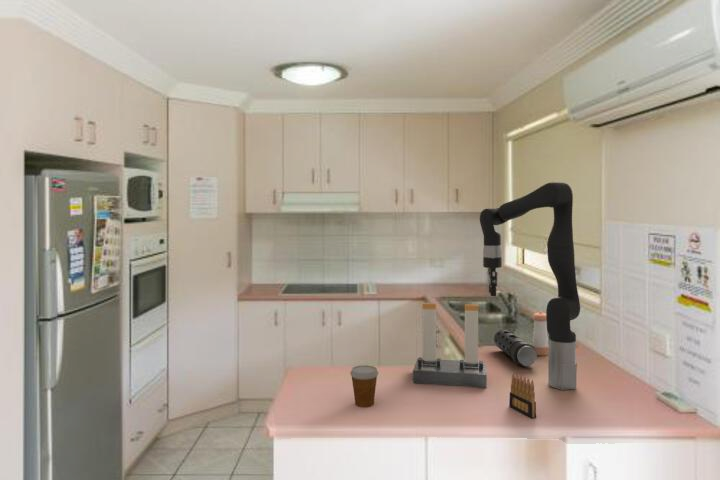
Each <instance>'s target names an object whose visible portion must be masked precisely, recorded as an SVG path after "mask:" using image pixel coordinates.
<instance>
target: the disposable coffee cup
mask: <svg viewBox="0 0 720 480" xmlns="http://www.w3.org/2000/svg"><path fill="white" fill-rule="evenodd" d="M378 375H379V371H378V368H377V367H376V366H375V365H374V366H373V365H367V364H362V365H361V364H360V365H356V366H353V367H351V371H350V376H351V381H352V388H353V389H352V390H353V397H354V404H355V406H356V407H360V408H369V407H372V406H374V404H375V396H376V387H377V378H378Z"/></svg>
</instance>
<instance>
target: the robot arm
mask: <svg viewBox="0 0 720 480" xmlns="http://www.w3.org/2000/svg"><path fill="white" fill-rule="evenodd" d="M573 196H574V195H573V191H572V188H571V186H570V185H569V184H568V183H567V182H553V181H552V182H547V183H545V184H543V185H542V186H540V187H537V189H535V190H533V191H531V192H530V193H528V194H526V195H524V196H521V197H519V198H516V199H513V200H510V201H508V202H505V203H503V204H501V205H500V206H499V207H496V208H484V209H483V210H482V211H481V212H480V214H479V224H480V227H481V230H482V231H481V232H482V235H483V250H482V259H483V260H482V265H483V268H487V273H486V275H487V283H488V292H489V294H490V296H491V297H496V296H497V286H498V275H499V273H498V272H497V269H499V268H502V266H503V265H502V264H503V263H502V260H503V259H502V258H503V257H502V255H503V254H502V253H503V251H502V246H501V245H502V236H501V233H500V232H499V231H497V230H495V226H499V225H503V224H505V223H507V222H509V221H511V220H514V219H516V218H520V217H522V216H524V215H526V214H528V213H529V212H530V211H533V210H535V209H540V208H541V209H542V208H552V210H553V223H552V227H551V230H550V232H549V235H548V238H547V241H546V242H547V244H546V248H547V249H546V251H547V261H548V264H549V267H550V269H551V271H552V273H553V275H554V278H555V280H556V284H557V297H553V298H551V299H550V300H549V301H548V302H547V306H546V313H545V314H546V319H547V335H548V346H549V354H548V372H547V374H548V377H547V378H548V381H547V383H548V386H550V387H551V388H553V389H558V390H561V391H567V390H577V373H578V372H577V371H578V370H577V369H578V367H577V366H578V364H577V362H576V356H577V355H576V353H577V352H576V346H577V342H576V341H577V334H576V333H575V332H574V331H573V330H571V321H574V320H575V319H576V318H579V316H580V313H581V302H580V298H579V297H580V296H579V291H578V286H577V274H576V264H575V263H576V262H575V247H574V233H573V232H574V230H573V206H574V205H573V203H574V200H573V199H574V198H573Z"/></svg>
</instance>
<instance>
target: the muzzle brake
mask: <svg viewBox="0 0 720 480" xmlns="http://www.w3.org/2000/svg"><path fill="white" fill-rule="evenodd" d="M493 342H494V343H493V344H494V345H495V346H496V347H497V348H498V349H500V350H501V351H503V352H504V354H506V355H507V356H508V357H509V358H511V359H512V360H513V362H515V363H516V364H517V365H519V366H521V367H531V366H532V365H533V364H535V363H536V361H537V356H538V355H537V354H536V350H535V348H534V347H533V346H532V344H530V343H529V342H528V341H525V340H523V339H521V338H520V337H518V336H517V335H515V334H514V333H512V332H511V331H509V330H507V329H500V330H498V331H496V333H495V334H494V336H493Z"/></svg>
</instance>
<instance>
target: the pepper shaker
mask: <svg viewBox="0 0 720 480" xmlns="http://www.w3.org/2000/svg"><path fill="white" fill-rule="evenodd" d="M532 320H533V333H532V344H531V345H532V346H533V347H534V348H535V350H536V354H537V356H549V334H548V331H547V319H546V313H545V312H543V311H541V310H540V311H539V312H535V313H533V314H532Z"/></svg>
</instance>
